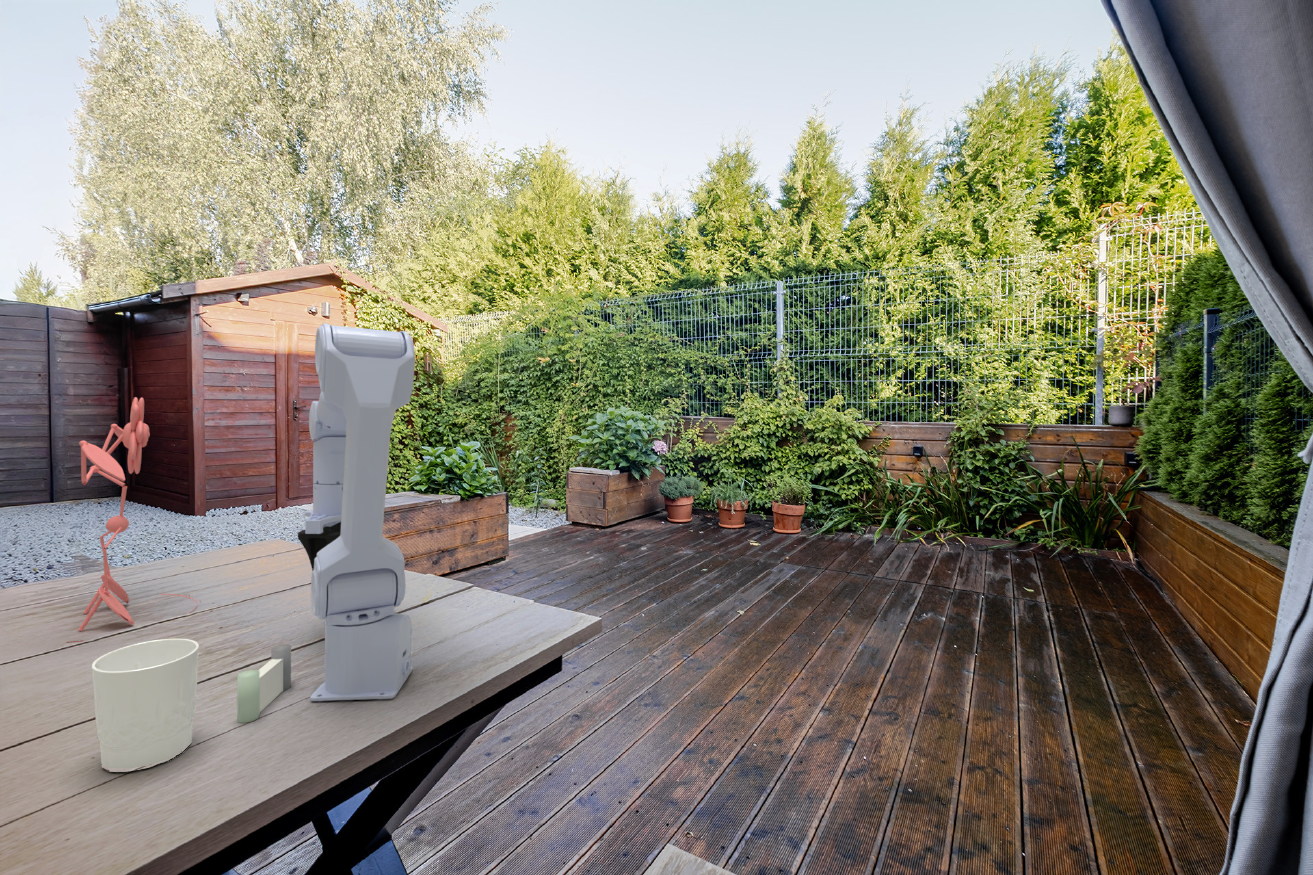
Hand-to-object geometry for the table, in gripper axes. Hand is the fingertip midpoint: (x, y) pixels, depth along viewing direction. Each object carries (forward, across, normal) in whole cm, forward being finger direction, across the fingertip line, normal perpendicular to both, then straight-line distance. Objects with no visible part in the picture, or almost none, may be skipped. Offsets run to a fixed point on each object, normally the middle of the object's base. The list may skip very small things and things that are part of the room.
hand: (334, 571), depth 88 cm
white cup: (+10, +31, -5) cm, 33 cm away
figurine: (+10, -9, -33) cm, 36 cm away
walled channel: (+9, +22, -5) cm, 24 cm away
